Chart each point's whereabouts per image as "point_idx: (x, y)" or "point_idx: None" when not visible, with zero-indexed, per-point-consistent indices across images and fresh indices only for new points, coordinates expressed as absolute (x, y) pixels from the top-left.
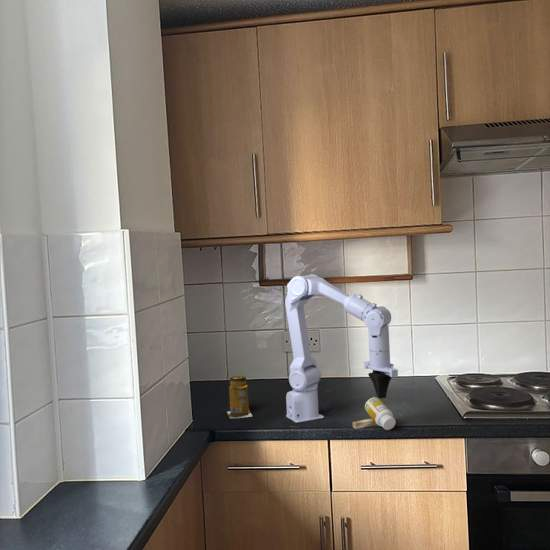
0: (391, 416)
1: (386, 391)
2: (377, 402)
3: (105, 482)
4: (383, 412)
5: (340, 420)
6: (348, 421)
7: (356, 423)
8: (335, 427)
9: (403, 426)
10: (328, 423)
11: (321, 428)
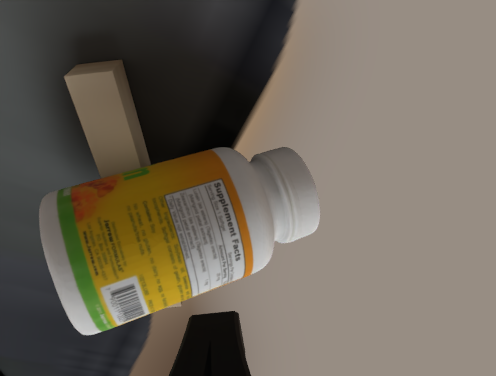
0: (299, 202)
1: (247, 365)
2: (157, 295)
3: None
4: (269, 257)
5: (22, 298)
6: (48, 276)
7: (180, 303)
8: (130, 337)
9: (252, 56)
10: (61, 343)
11: (126, 373)
